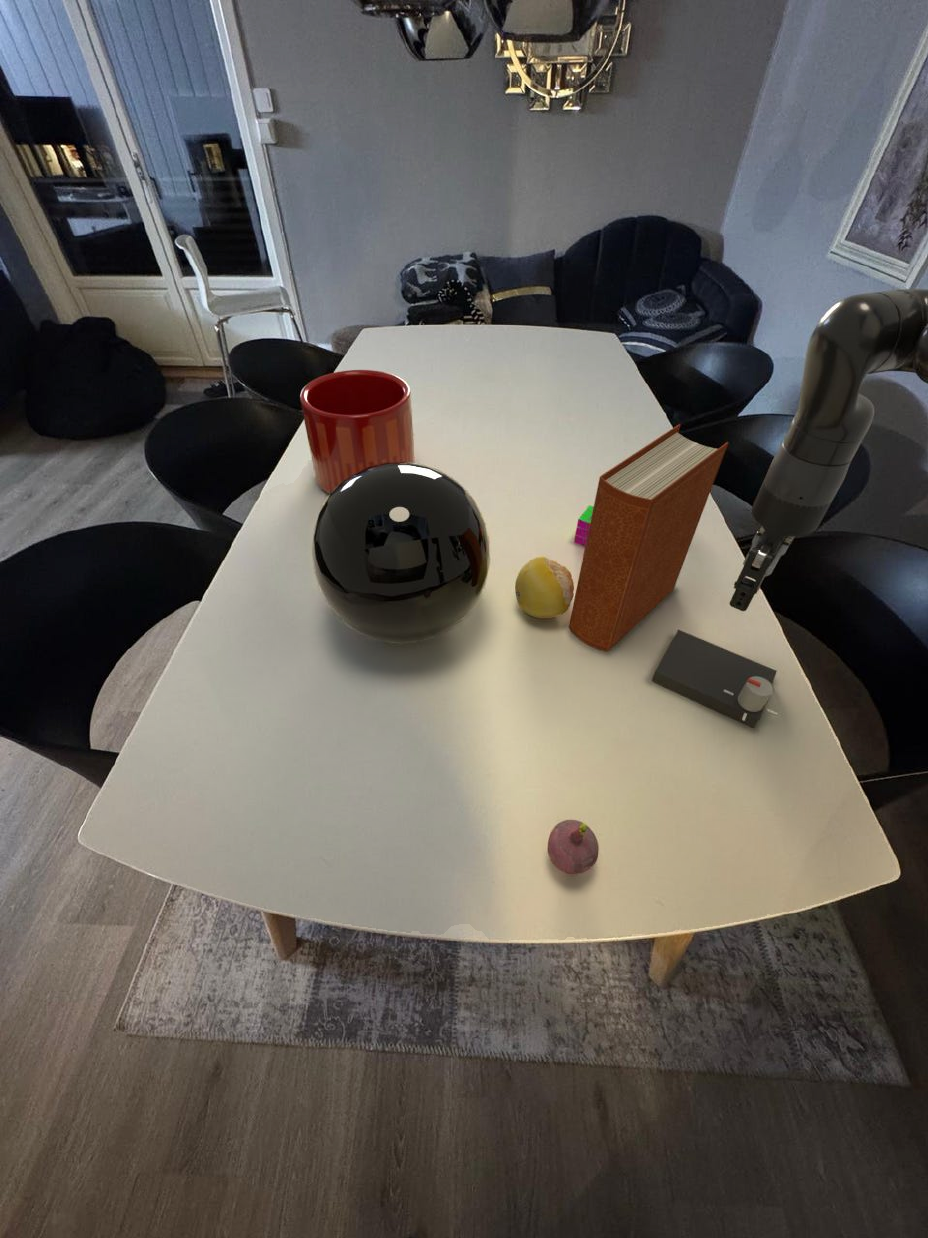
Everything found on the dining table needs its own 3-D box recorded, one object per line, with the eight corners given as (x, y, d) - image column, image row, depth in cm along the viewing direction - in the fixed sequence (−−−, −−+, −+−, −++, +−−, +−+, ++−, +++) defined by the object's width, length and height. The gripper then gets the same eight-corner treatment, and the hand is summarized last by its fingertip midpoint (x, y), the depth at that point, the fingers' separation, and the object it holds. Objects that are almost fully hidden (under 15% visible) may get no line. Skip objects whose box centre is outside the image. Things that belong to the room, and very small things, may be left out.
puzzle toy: (610, 536, 118) (616, 513, 114) (600, 551, 114) (605, 528, 110) (584, 528, 120) (589, 504, 116) (573, 542, 116) (578, 518, 112)
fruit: (539, 638, 97) (546, 595, 90) (501, 602, 103) (504, 560, 96) (582, 614, 102) (592, 572, 94) (543, 581, 108) (549, 539, 101)
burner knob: (765, 699, 86) (776, 682, 83) (759, 716, 84) (771, 698, 80) (740, 689, 87) (751, 671, 84) (734, 704, 85) (745, 687, 82)
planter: (322, 452, 140) (307, 369, 126) (415, 450, 141) (411, 368, 127) (310, 505, 124) (291, 417, 110) (415, 503, 125) (410, 415, 111)
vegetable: (565, 895, 68) (578, 862, 61) (533, 852, 72) (542, 816, 64) (602, 867, 70) (619, 832, 63) (569, 826, 74) (582, 789, 67)
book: (635, 569, 110) (679, 423, 89) (673, 589, 106) (728, 442, 85) (564, 630, 99) (595, 479, 77) (604, 655, 95) (647, 503, 73)
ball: (320, 577, 108) (290, 441, 88) (462, 554, 113) (464, 421, 93) (336, 692, 89) (302, 552, 69) (506, 658, 94) (520, 518, 74)
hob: (783, 685, 91) (790, 675, 89) (763, 742, 83) (771, 732, 81) (674, 639, 98) (678, 628, 96) (647, 688, 90) (651, 677, 88)
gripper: (817, 526, 60) (759, 632, 71) (849, 471, 68) (792, 574, 79) (746, 501, 63) (701, 607, 74) (784, 451, 71) (738, 553, 82)
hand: (748, 590), depth 77 cm, fingers open, 8 cm apart
